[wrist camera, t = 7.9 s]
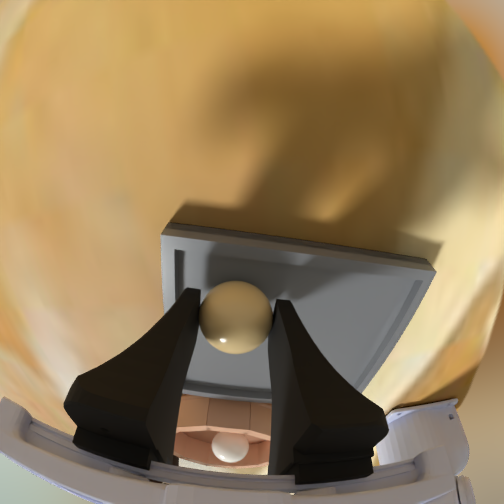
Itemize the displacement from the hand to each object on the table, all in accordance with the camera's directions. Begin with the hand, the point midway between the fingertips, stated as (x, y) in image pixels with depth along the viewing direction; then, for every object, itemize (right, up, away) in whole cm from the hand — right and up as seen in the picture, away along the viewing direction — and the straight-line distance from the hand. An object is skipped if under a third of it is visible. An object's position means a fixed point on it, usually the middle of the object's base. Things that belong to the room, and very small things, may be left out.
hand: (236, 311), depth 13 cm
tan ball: (0, +1, +1) cm, 1 cm away
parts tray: (+3, -2, +3) cm, 5 cm away
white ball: (-1, -13, +9) cm, 16 cm away
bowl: (-2, -12, +9) cm, 16 cm away
